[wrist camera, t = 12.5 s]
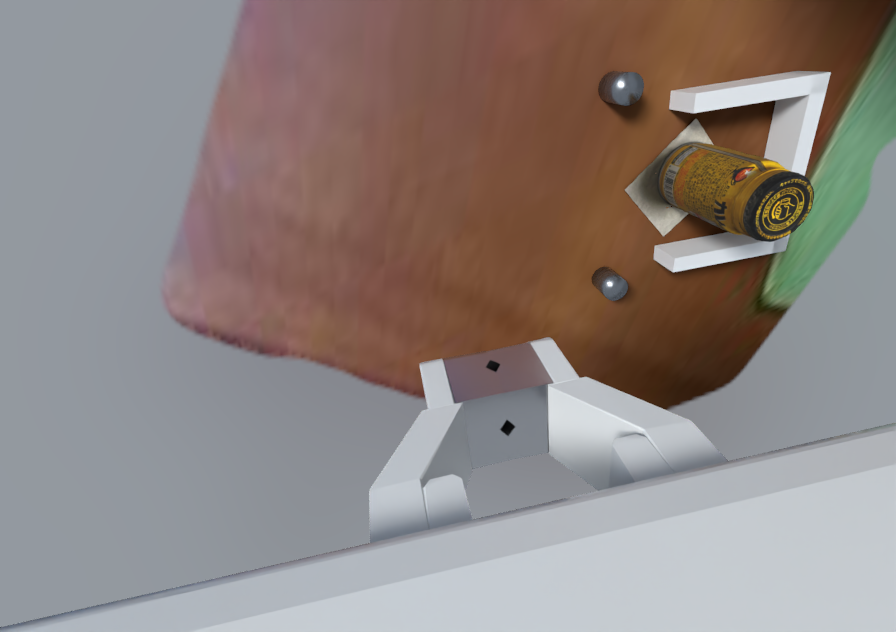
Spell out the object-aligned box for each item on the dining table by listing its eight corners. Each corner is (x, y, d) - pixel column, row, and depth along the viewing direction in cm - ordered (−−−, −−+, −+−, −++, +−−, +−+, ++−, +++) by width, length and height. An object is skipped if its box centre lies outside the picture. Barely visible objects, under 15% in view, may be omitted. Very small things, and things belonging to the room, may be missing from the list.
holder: (653, 259, 49) (672, 272, 46) (671, 90, 41) (696, 93, 38) (759, 239, 50) (785, 250, 47) (796, 71, 42) (831, 72, 39)
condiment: (731, 171, 46) (840, 205, 35) (662, 235, 48) (746, 285, 38) (694, 117, 43) (803, 137, 32) (622, 189, 45) (702, 229, 34)
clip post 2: (604, 262, 48) (618, 273, 46) (618, 275, 49) (632, 287, 47) (587, 279, 49) (600, 291, 46) (600, 291, 50) (614, 304, 47)
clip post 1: (614, 64, 39) (632, 65, 37) (630, 86, 40) (649, 88, 38) (593, 88, 40) (609, 90, 37) (609, 108, 41) (626, 112, 38)
